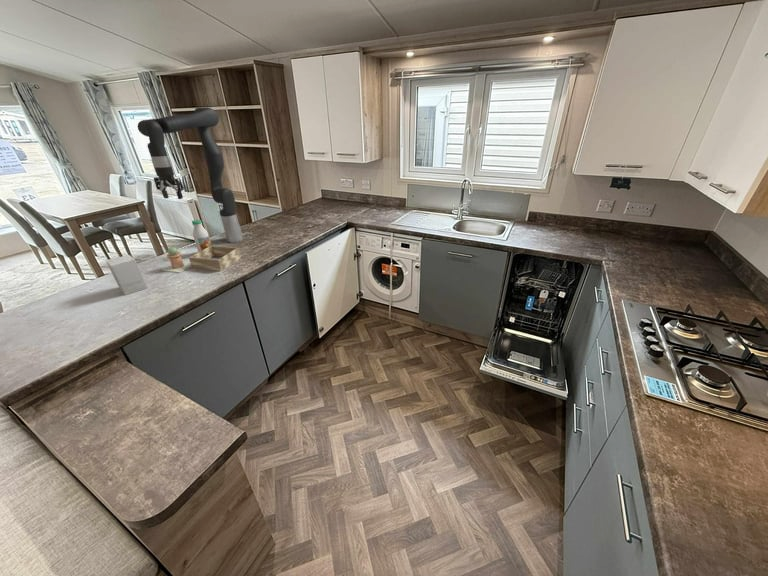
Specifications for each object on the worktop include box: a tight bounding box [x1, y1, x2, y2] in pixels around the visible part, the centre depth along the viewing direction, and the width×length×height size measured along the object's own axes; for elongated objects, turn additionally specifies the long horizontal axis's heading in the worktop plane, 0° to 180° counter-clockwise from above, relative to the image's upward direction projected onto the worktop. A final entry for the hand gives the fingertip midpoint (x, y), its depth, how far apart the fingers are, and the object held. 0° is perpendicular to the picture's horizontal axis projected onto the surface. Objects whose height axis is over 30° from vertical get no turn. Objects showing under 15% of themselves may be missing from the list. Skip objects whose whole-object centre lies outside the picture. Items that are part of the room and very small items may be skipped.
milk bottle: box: [191, 219, 213, 253], centre depth 172 cm, size 8×8×20 cm
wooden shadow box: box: [188, 245, 242, 272], centre depth 165 cm, size 18×18×6 cm
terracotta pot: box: [166, 246, 184, 269], centre depth 157 cm, size 6×6×11 cm
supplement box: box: [105, 254, 148, 296], centre depth 136 cm, size 9×9×15 cm
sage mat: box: [161, 261, 192, 274], centre depth 160 cm, size 11×11×1 cm
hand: (173, 198), depth 157 cm, fingers open, 8 cm apart
